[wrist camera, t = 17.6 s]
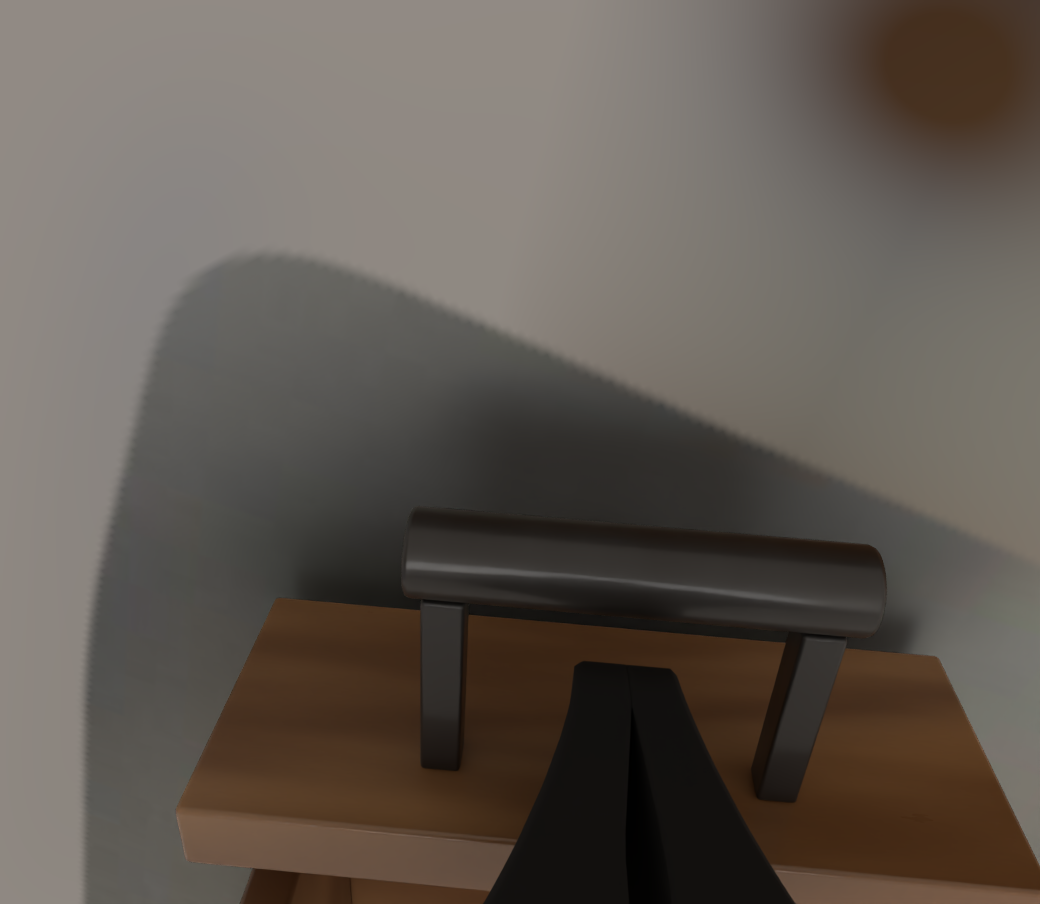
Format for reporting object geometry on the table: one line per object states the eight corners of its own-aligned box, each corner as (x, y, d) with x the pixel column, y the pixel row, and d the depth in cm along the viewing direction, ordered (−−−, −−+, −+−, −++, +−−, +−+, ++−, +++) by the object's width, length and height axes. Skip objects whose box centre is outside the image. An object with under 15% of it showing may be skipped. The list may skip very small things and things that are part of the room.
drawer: (252, 381, 14) (118, 557, 10) (1022, 444, 14) (1201, 653, 10) (312, 950, 22) (250, 1177, 18) (802, 999, 22) (851, 1242, 18)
